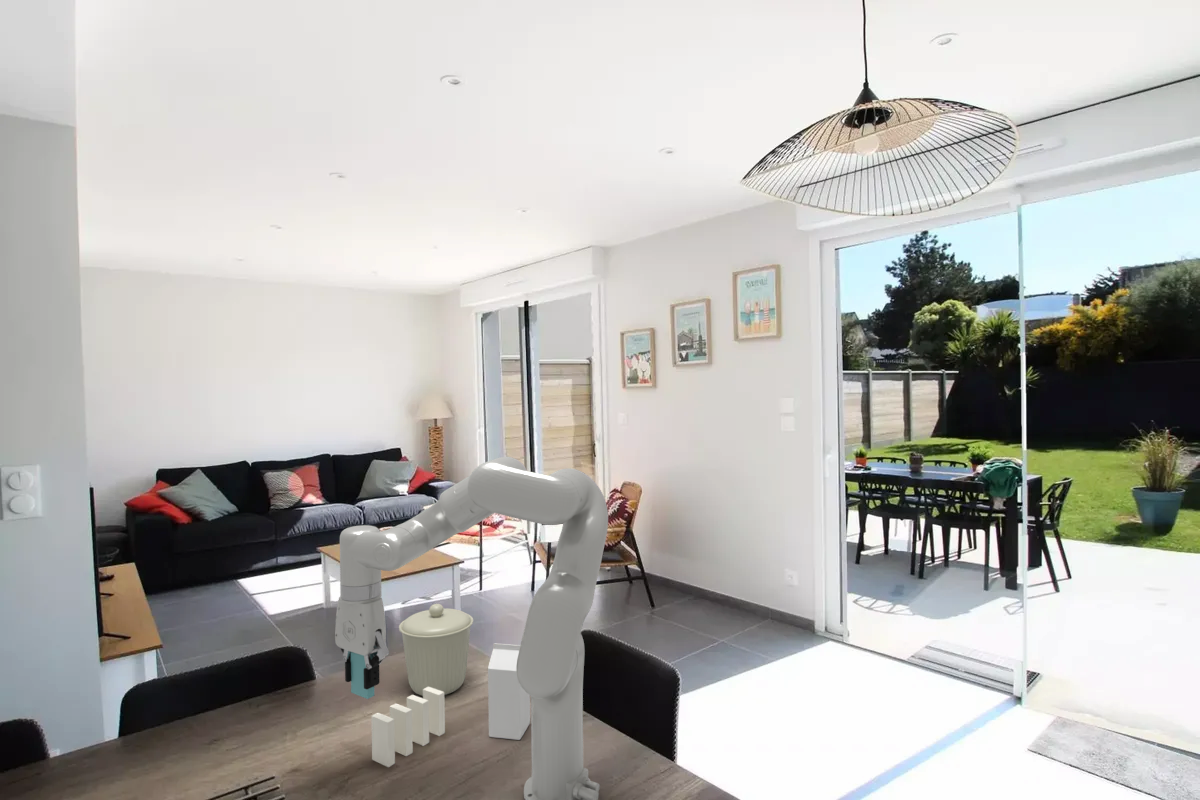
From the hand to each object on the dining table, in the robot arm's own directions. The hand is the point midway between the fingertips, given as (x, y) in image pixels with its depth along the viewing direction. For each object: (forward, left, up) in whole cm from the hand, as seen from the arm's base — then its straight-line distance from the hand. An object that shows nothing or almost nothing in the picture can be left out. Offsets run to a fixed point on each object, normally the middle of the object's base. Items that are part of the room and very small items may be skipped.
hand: (362, 681), depth 127 cm
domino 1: (0, 0, -2) cm, 2 cm away
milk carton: (-14, -27, -18) cm, 35 cm away
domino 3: (0, -9, -18) cm, 20 cm away
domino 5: (0, -18, -18) cm, 25 cm away
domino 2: (0, -5, -18) cm, 19 cm away
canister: (+15, -33, -18) cm, 41 cm away
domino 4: (0, -14, -18) cm, 23 cm away
